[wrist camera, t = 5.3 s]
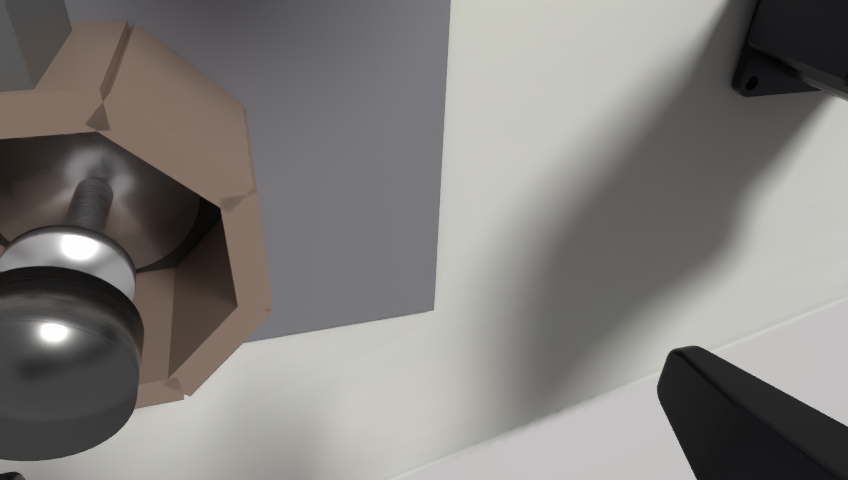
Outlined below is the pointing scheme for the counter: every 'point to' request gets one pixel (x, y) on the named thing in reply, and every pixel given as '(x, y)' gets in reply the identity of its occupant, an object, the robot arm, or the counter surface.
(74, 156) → the silver stemmed round piece
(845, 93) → the robot arm
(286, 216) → the mat
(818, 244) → the counter surface
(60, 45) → the brown octagonal ring
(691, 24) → the counter surface
